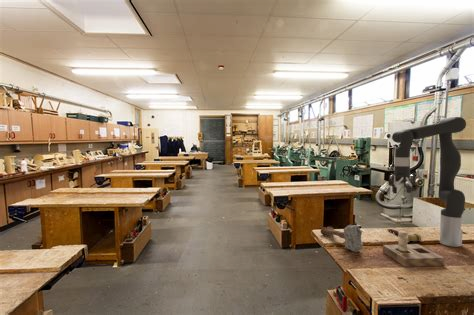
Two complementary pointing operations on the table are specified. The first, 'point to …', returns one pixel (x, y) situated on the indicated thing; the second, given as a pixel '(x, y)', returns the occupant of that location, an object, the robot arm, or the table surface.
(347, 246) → the hammer
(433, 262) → the walnut board
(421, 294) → the table surface
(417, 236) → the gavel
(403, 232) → the birch peg
